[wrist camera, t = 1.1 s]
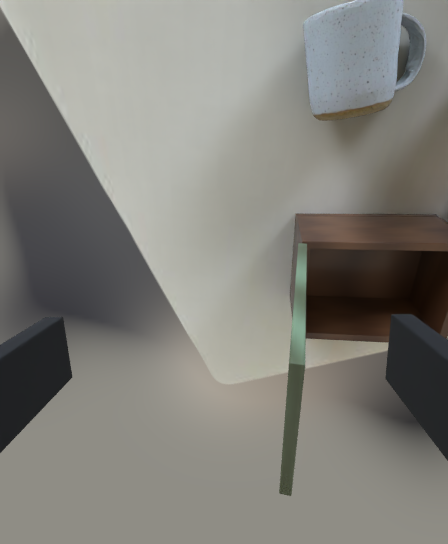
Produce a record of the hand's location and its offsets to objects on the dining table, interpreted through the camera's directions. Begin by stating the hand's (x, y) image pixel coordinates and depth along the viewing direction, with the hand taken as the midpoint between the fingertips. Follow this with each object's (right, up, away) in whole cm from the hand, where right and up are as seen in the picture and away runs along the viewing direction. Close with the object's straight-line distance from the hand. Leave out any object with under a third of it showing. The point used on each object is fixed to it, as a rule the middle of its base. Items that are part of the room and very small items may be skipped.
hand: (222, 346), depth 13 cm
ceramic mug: (+13, +23, +18) cm, 33 cm away
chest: (+16, +5, +28) cm, 32 cm away
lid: (+6, -3, +13) cm, 15 cm away
